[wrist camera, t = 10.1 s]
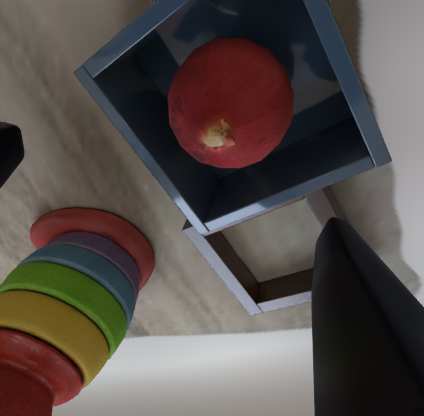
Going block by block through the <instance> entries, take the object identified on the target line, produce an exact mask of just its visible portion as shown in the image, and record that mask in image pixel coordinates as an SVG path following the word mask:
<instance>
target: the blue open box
mask: <svg viewBox="0 0 424 416" xmlns="http://www.w3.org/2000/svg"><path fill="white" fill-rule="evenodd" d="M215 38H245V39H248V40H250V41H252V42H254V43H256V44H259V45H261V46H263V47H265V48H267V49H269V50H270V51H271V52H272V54H273V55H274V56H275V57H276V58H277V59H278V60H279V61H280V62H281V63H282V64H283V66H284V67H285V69H286V72H287V75H288V78H289V81H290V84H291V86H292V89H293V92H294V104H293V118H292V121H291V124H290V126H289V128H288V129H287V131H286V133H285V135H284V136H283V138H282V140H281V142H280V143H279V144H278V145H277V146H276V147H275V148H274V149H273V150H272V151H271V152H270V153H269V154H268V155H267V156H266V157H265V158H263V159H262V160H261V161H259V162H256V163H253V164H251V165H248V166H245V167H243V168H219V167H215V166H212V165H208V164H204V163H200V162H198V161H197V160H196V159H195V158H194V157H193V156H191V155H190V154H189V153H188V152H187V151H186V150H185V149H183V148H182V147H181V145H180V144H179V142H178V140H177V138H176V136H175V134H174V132H173V130H172V128H171V126H170V124H169V108H168V93H169V90H170V87H171V84H172V81H173V78H174V75H175V73H176V72H177V70H178V68H179V67H180V66H181V65H182V63H183V62H184V61H185V60H186V58H187V57H188V56H189V55H190V54H191V52H192V51H193V50H194V49H196V48H198V47H200V46H202V45H204V44H205V43H207V42H209V41H211V40H213V39H215ZM74 75H75V76H76V77H77V79H78V80H79V81H80V82H81V84H82V85H83V86H84V88H85V89H86V90H87V91H88V93H89V94H90V95H91V96H92V98H93V99H94V100H95V102H96V103H97V104H98V105H99V107H100V108H101V109H102V111H103V112H104V113H105V114H106V116H107V117H108V118H109V119H110V121H111V122H112V123H113V125H114V126H115V127H116V128H117V130H118V131H119V132H120V133H121V135H122V136H123V137H124V139H125V140H126V141H127V142H128V144H129V145H130V146H131V148H132V149H133V150H134V151H135V153H136V154H137V155H138V156H139V158H140V159H141V160H142V162H143V163H144V164H145V165H146V167H147V168H148V169H149V171H150V172H151V173H152V174H153V176H154V177H155V178H156V179H157V181H158V182H159V183H160V185H161V186H162V187H163V188H164V190H165V191H166V192H167V194H168V195H169V196H170V197H171V199H172V200H173V201H174V202H175V204H176V205H177V206H178V208H179V209H180V210H181V211H182V213H183V214H184V215H185V217H186V218H187V219H188V220H189V222H190V223H191V224H192V225H193V227H194V228H195V229H196V231H197V232H198V233H199V234H200V235H202V234H205V233H207V232H209V231H212V230H215V229H218V228H220V227H223V226H225V225H228V224H230V223H233V222H236V221H238V220H241V219H243V218H246V217H249V216H251V215H254V214H256V213H259V212H262V211H264V210H267V209H269V208H272V207H274V206H277V205H280V204H282V203H285V202H287V201H290V200H293V199H295V198H298V197H300V196H303V195H306V194H308V193H311V192H313V191H316V190H318V189H321V188H324V187H326V186H329V185H331V184H334V183H337V182H339V181H342V180H344V179H347V178H350V177H352V176H355V175H357V174H360V173H363V172H365V171H368V170H370V169H373V168H374V167H379V166H381V165H384V164H386V163H389V162H391V161H392V159H391V157H390V154H389V152H388V149H387V147H386V144H385V142H384V139H383V137H382V134H381V132H380V129H379V127H378V124H377V122H376V119H375V117H374V115H373V112H372V110H371V107H370V105H369V102H368V100H367V97H366V95H365V92H364V90H363V87H362V85H361V82H360V80H359V77H358V75H357V72H356V70H355V67H354V65H353V62H352V60H351V58H350V55H349V53H348V50H347V48H346V45H345V43H344V40H343V38H342V35H341V33H340V30H339V28H338V25H337V23H336V20H335V18H334V15H333V13H332V10H331V8H330V5H329V3H328V1H327V0H157V1H155V2H154V3H153V4H152V5H151V6H150V7H148V8H147V9H146V10H145V11H144V12H143V13H141V14H140V15H139V16H138V17H137V18H136V19H134V20H133V21H132V22H131V23H130V24H129V25H128V26H126V27H125V28H124V29H123V30H122V31H121V32H119V33H118V34H117V35H116V36H115V37H114V38H112V39H111V40H110V41H109V42H108V43H107V44H105V45H104V46H103V47H102V48H101V49H100V50H98V51H97V52H96V53H95V54H94V55H93V56H91V57H90V58H89V59H88V60H87V61H86V62H85V63H83V65H81V66H80V67H79V68H78V69H77V70H75V71H74Z"/></svg>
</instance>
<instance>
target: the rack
mask: <svg viewBox="0 0 424 416" xmlns="http://www.w3.org/2000/svg"><path fill="white" fill-rule="evenodd" d="M304 198H306V200H307V202H308V204H309V205H310V207H311V209H312V211H313V213H314V214H315V216H316V218H317V220H318V221H319V223H320V225H321V227H322V228H324V227H325V225H326V223H327V221H328V220H329V219H330V218H331V217H336V218H339V219H343V220H346V218H345V216H344V214H343V212H342V211H341V209H340V207H339V205H338V203H337V201H336V199H335V197H334V195H333V193H332V191H331V189H330V187H329V186H326V187H324V188H321V189H318V190H316V191H313V192H311V193H308V194H306V195H303V196H300V197H298V198H295V199H293V200H290V201H287V202H285V203H282V204H280V205H277V206H274V207H272V208H269V209H267V210H264V211H262V212H259V213H256V214H254V215H251V216H249V217H246V218H243V219H241V220H238V221H236V222H233V223H230V224H228V225H225V226H223V227H220V228H218V229H215V230H212V231H209V232H207V233H205V234H202V235H200V234H199V233H198V232H197V231H196V229H195V228H194V227H193V225H192V224H191V223H190V222H189V220H188V219H187V220H186V222H185V224H184V226H183V229H182V231H183V233H184V234H185V235H186V236H187V237H188V239H189V240H190V241H191V242H192V244H193V245H194V246H195V247H196V249H197V250H198V251H199V252H200V254H201V255H202V256H203V257H204V259H205V260H206V261H207V262H208V263H209V265H210V266H211V267H212V268H213V270H214V271H215V272H216V273H217V275H218V276H219V277H220V278H221V280H222V281H223V282H224V283H225V285H226V286H227V287H228V288H229V290H230V291H231V292H232V293H233V294H234V296H235V297H236V298H237V299H238V301H239V302H240V303H241V304H242V306H243V307H244V308H245V309H246V311H247V312H248V313H249V314H250V315H255V314H260V313H263V312H268V311H273V310H277V309H281V308H286V307H290V306H295V305H299V304H304V303H308V302H311V291H312V279H313V269H310V270H306V271H303V272H299V273H295V274H292V275H288V276H284V277H281V278H277V279H273V280H270V281H266V282H263V283H258V282H257V281H256V279H255V278H254V277H253V275H252V274H251V273H250V271H249V270H248V269H247V267H246V266H245V265H244V263H243V262H242V261H241V259H240V258H239V257H238V255H237V254H236V253H235V251H234V250H233V249H232V247H231V246H230V245H229V243H228V242H227V240H226V239H225V238H224V236H223V235H222V234H221V232H220V230H223V229H226V228H228V227H231V226H233V225H236V224H239V223H241V222H244V221H247V220H249V219H252V218H254V217H257V216H260V215H262V214H265V213H268V212H270V211H273V210H275V209H278V208H281V207H283V206H286V205H289V204H291V203H294V202H296V201H299V200H302V199H304ZM346 221H347V220H346Z"/></svg>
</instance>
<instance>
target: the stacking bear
mask: <svg viewBox="0 0 424 416" xmlns="http://www.w3.org/2000/svg"><path fill="white" fill-rule="evenodd" d="M30 238H31V241H32V243H33V245H34V246H35V247H36V248H37V249H38V250H36V251H35V252H33V253H32V254H31V255H29V256H28V257H27V258H26V259H24V260H23V261H22V262H21V263H20V264H19V265H18V266H17V267H16V268H15V269H14V270H13V271H12V272H11V273H10V274H9V275H8V276H7V278H6V279H5V280H4V282H3V283H2V284H1V286H0V416H52V406H58V405H61V404H63V403H65V402H68V401H69V400H71V399H73V398H74V397H75V396H76V395H78V394H79V392H80V391H81V389H82V388H84V387H86V386H87V385H88V384H89V383H90V382H91V381H92V380H93V379H94V378H95V377H96V375H97V374H98V373H99V372H100V370H101V369H102V367H103V366H104V365H105V363H106V362H107V360H108V359H110V358H111V356H112V355H113V354H114V352H115V351H116V349H117V348H118V346H119V345H120V343H121V342H122V340H123V338H124V336H125V334H126V331H127V330H128V328H129V325H130V322H131V320H132V317H133V313H134V310H135V304H136V301H137V297H138V292H139V291H140V290H141V289H142V287H143V286H144V285H145V283H146V282H147V281H148V279H149V277H150V275H151V273H152V271H153V268H154V256H153V253H152V250H151V248H150V245H149V244H148V242H147V240H146V239H145V238H144V237H143V235H142V234H141V233H140V232H139V231H138V230H137V229H136V228H134V227H133V226H132V225H131V224H129V223H128V222H126V221H125V220H123V219H121V218H119V217H117V216H115V215H112V214H109V213H106V212H102V211H97V210H91V209H78V208H76V209H63V210H57V211H54V212H51V213H48V214H46V215H44V216H42V217H40V218H39V219H38V220H37V221H36V222H35V223H34V224H33V225H32V227H31V229H30Z"/></svg>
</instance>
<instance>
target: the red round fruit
mask: <svg viewBox="0 0 424 416" xmlns="http://www.w3.org/2000/svg"><path fill="white" fill-rule="evenodd" d="M293 104H294V92H293V89H292V86H291V84H290V81H289V78H288V75H287V72H286V69H285V67H284V66H283V64H282V63H281V62H280V61H279V60H278V59H277V58H276V57H275V56H274V55H273V54H272V52H271V51H270V50H269V49H267V48H265V47H263V46H261V45H259V44H256V43H254V42H252V41H250V40H248V39H245V38H215V39H213V40H211V41H209V42H207V43H205V44H204V45H202V46H200V47H198V48H196V49H194V50H193V51H192V52H191V54H190V55H189V56H188V57H187V58H186V60H185V61H184V62H183V63H182V65H181V66H180V67H179V68H178V70H177V72H176V73H175V75H174V78H173V81H172V84H171V87H170V90H169V93H168V108H169V124H170V126H171V128H172V130H173V132H174V134H175V136H176V138H177V140H178V142H179V144H180V145H181V147H182V148H183V149H185V150H186V151H187V152H188V153H189V154H190V155H191V156H193V157H194V158H195V159H196V160H197V161H198V162H200V163H204V164H208V165H212V166H215V167H219V168H243V167H245V166H248V165H251V164H253V163H256V162H259V161H261V160H262V159H263V158H265V157H266V156H267V155H268V154H269V153H270V152H271V151H272V150H273V149H274V148H275V147H276V146H277V145H278V144H279V143H280V142H281V140H282V138H283V136H284V135H285V133H286V131H287V129H288V128H289V126H290V124H291V121H292V118H293Z"/></svg>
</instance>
